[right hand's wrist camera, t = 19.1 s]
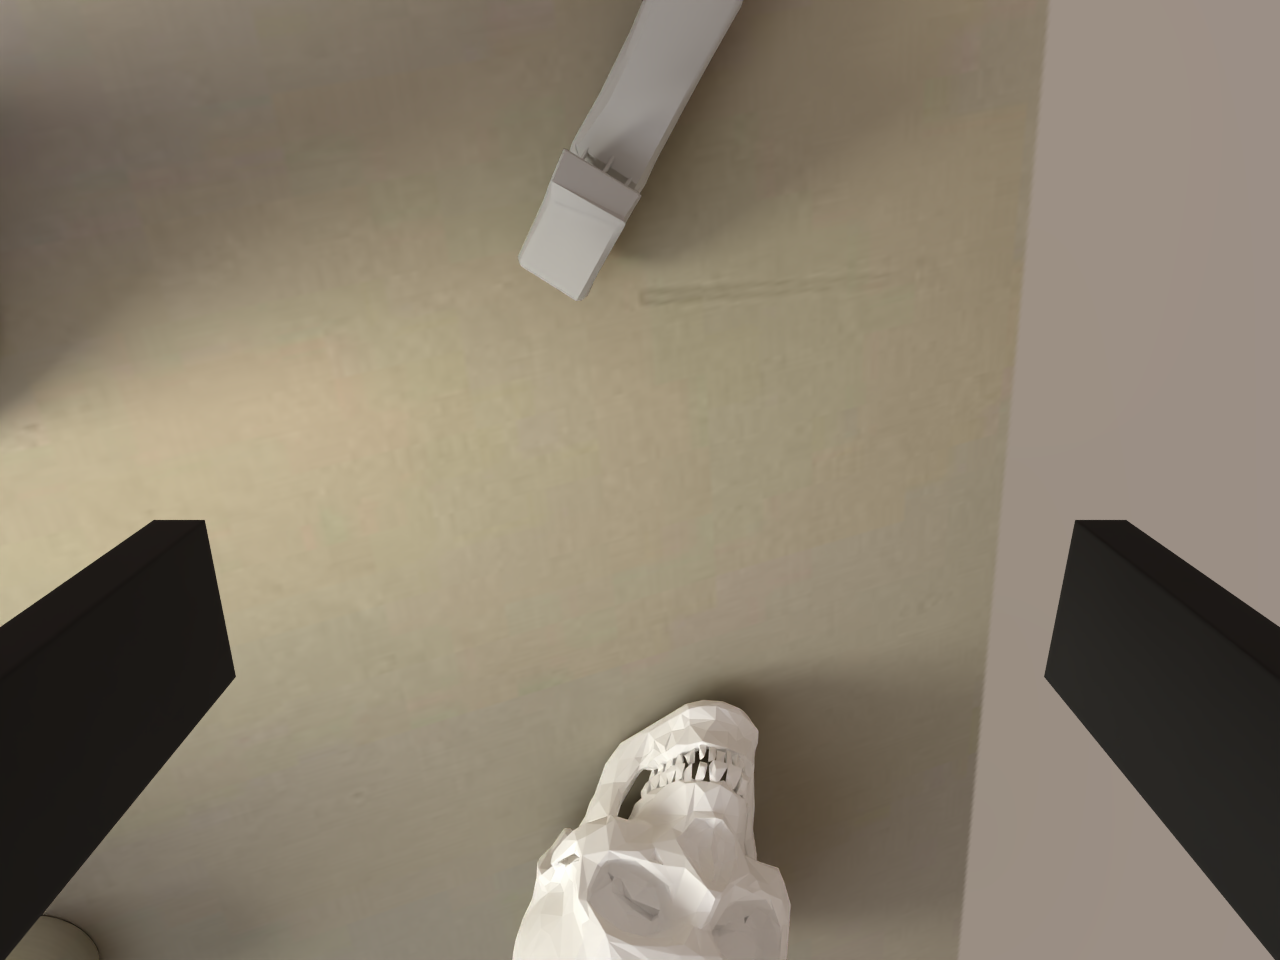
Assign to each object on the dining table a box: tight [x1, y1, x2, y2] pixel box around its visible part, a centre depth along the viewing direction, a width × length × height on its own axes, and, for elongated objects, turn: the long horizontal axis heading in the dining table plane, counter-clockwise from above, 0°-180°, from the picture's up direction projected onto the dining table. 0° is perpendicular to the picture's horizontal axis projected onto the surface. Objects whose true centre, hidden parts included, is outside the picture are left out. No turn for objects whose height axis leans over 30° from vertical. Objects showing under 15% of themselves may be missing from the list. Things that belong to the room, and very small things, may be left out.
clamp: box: [518, 0, 743, 301], centre depth 34 cm, size 20×4×7 cm, turn 151°
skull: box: [513, 700, 791, 960], centre depth 44 cm, size 13×22×16 cm, turn 162°
